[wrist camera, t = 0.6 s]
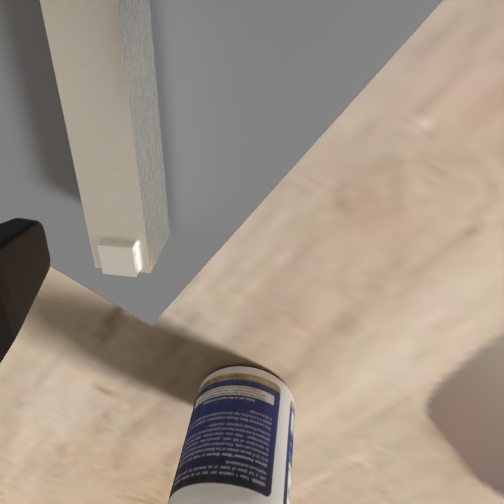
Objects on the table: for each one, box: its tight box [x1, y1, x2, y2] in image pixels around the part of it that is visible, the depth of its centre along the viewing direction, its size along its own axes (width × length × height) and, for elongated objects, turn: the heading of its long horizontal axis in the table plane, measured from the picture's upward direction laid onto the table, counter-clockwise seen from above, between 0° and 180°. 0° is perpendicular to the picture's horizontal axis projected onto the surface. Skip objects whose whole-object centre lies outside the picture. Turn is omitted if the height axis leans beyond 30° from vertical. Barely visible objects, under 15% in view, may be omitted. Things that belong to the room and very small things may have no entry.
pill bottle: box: [168, 366, 295, 504], centre depth 22 cm, size 5×5×10 cm
